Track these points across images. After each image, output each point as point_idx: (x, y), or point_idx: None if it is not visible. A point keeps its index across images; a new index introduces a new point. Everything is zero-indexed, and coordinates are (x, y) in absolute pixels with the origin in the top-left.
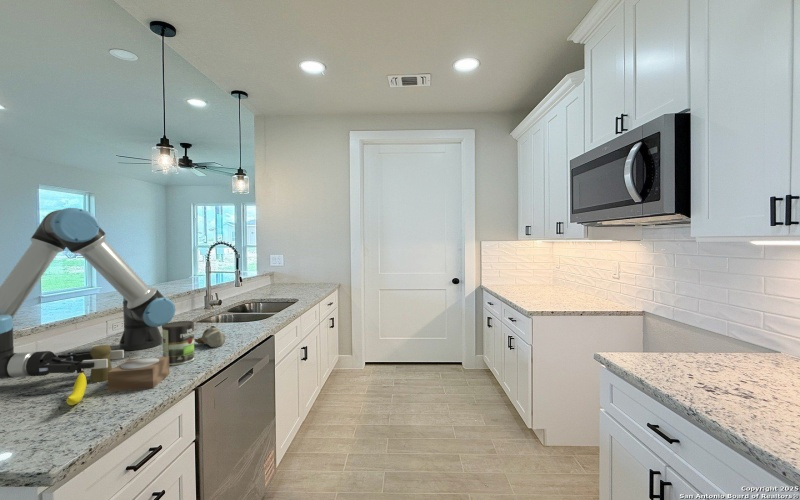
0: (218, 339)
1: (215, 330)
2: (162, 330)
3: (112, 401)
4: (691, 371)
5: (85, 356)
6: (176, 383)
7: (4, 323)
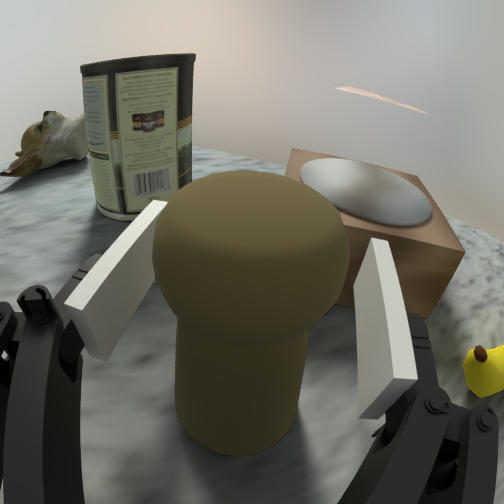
0: None
1: (64, 117)
2: (129, 79)
3: (479, 288)
4: (369, 94)
5: (58, 450)
6: None
7: None
